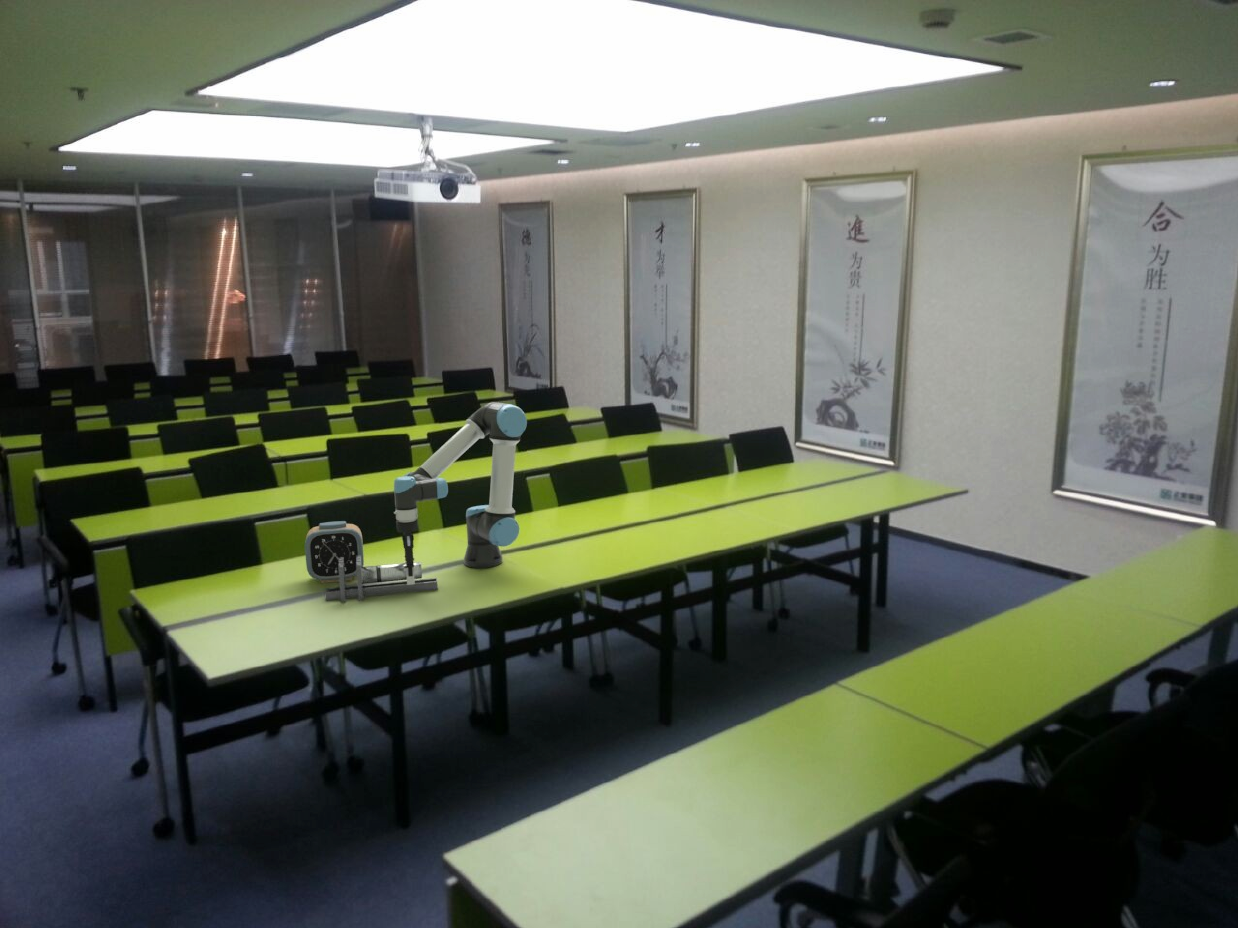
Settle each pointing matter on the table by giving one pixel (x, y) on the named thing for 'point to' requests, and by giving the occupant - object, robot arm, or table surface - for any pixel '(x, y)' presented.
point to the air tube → (388, 573)
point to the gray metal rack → (374, 586)
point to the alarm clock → (333, 550)
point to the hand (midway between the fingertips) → (410, 581)
